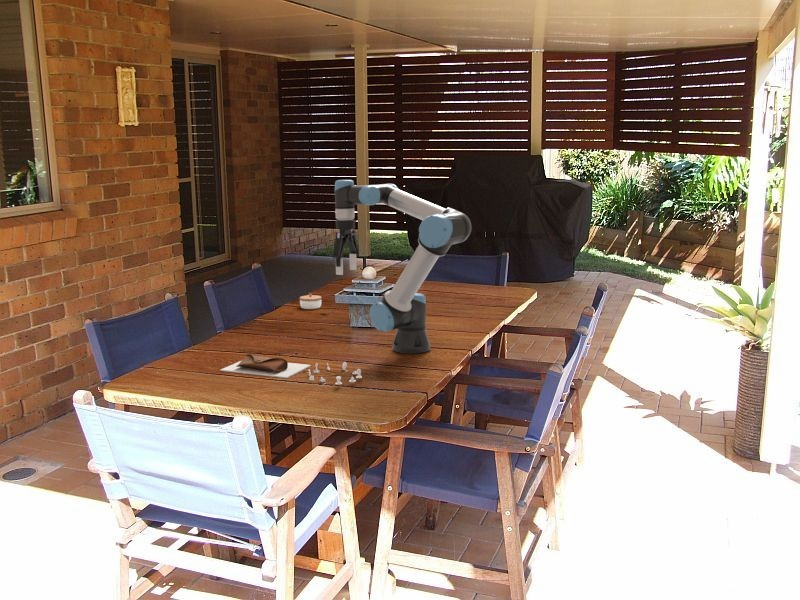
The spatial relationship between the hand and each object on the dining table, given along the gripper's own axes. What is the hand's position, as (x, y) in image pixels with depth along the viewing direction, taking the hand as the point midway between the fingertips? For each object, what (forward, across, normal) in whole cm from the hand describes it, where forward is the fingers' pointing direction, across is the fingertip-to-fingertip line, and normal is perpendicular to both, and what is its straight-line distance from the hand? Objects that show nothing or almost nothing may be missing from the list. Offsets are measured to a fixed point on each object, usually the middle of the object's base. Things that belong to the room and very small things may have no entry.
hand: (346, 272), depth 337 cm
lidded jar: (+31, -61, -47) cm, 83 cm away
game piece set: (+32, +40, +12) cm, 53 cm away
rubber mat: (+31, +39, -16) cm, 52 cm away
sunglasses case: (+32, +43, -17) cm, 56 cm away
